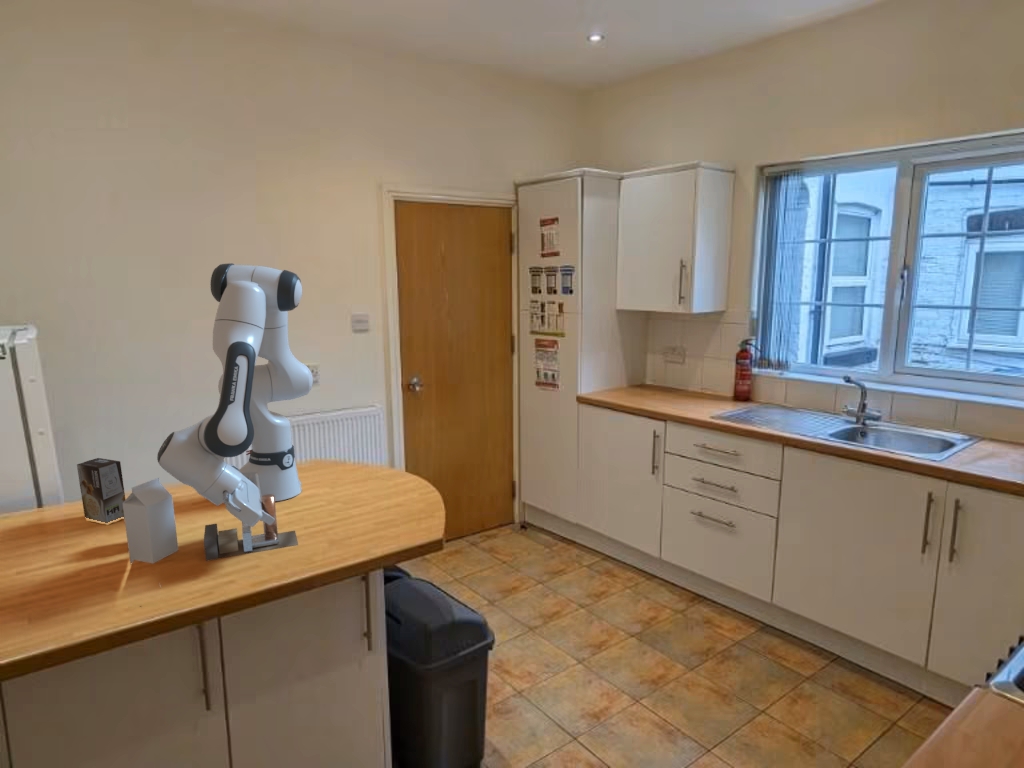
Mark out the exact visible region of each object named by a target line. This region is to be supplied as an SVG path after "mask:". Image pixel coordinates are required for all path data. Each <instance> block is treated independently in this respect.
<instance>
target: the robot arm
mask: <svg viewBox="0 0 1024 768" xmlns="http://www.w3.org/2000/svg"><path fill="white" fill-rule="evenodd" d="M209 282H210V293H211V295H212V297H213V298H214V300H215V301H216V302H218V303H219V304H218V307H217V309H216V310H217V311H216V314H215V319H214V323H213V330H212V350H213V352H214V354H215V356H216V357H218V359H219V361H220V363H221V365H222V366H221V367H222V374H221V375H220V377H219V380H218V385H217V386H218V392H219V401H218V405H217V408H216V411H215V412H214V414H211V415H208V416H206V417H204V418H203V419H201V420H200V421H198V422H197V423H195V424H193V425H191V426H189V427H186V428H184V429H181V430H177V431H173V432H171V433H170V434H169V435H168V436H167V437H166V439H164V441H163V443H162V444H161V446H160V448H159V449H158V452H157V456H156V458H157V459H156V460H157V463H158V465H159V466H160V467H161V468H162V469H163V470H164V471H165V472H166V473H168V474H169V475H171V476H172V477H173V478H174V479H176V480H177V481H179V482H180V483H182V484H183V485H187V486H189V487H191V488H193V489H194V490H195V491H196V493H197V494H199V495H200V496H202V497H203V498H204V499H206V500H208V501H209V502H210V503H212V504H214V505H216V506H220V505H222V504H225V509H226V510H227V511H228V512H229V513H230V514H231V515H232V516H233V517H235V518H236V519H238V520H239V521H240V522H241V523H242V522H243V523H245V524H246V525H248V526H250V527H251V528H253V527H255V526H256V525H257V524H258V523H259V521H261V522H262V523H263V522H265V523H267V524H268V525H271V524H272V523H273V522H274V521H275V519H274V517H273V516H272V515H270V514H267V513H265V512H264V511H263V510H262V502H261V497H262V496H264V495H268V494H272V495H274V496H275V502H279V501H280V502H281V501H284V500H287V499H291V498H294V497H296V496H298V495H299V494H301V492H302V483H301V480H300V478H299V473H298V468H297V464H296V460H295V457H296V456H295V453H296V451H295V447H294V445H293V440H292V439H293V438H292V437H293V436H292V425H291V421H290V420H289V419H288V418H287V416H285V415H283V414H281V413H278V412H274V411H271V410H269V407H268V404H269V403H273V402H281V401H290V400H294V399H297V398H301V397H304V396H307V395H308V394H309V393H310V392H311V390H312V387H313V384H314V378H313V373H312V372H311V369H310V368H309V367H308V366H307V365H306V364H305V363H303V362H301V361H300V360H298V359H297V357H296V356H294V354H293V353H292V350H291V348H290V343H289V341H290V340H289V314H288V313H289V312H290V311H293V310H295V309H296V308H298V306H299V304H300V301H301V299H302V296H303V287H302V281H301V279H300V277H299V276H298V274H297V273H295V272H292V271H289V270H286V269H283V270H281V269H277V268H274V267H269V266H264V265H250V264H234V263H230V262H229V263H221V264H219V265H218V266H217V267H215V268H214V269H213V271H212V274H211V277H210V281H209ZM258 357H259V358H261V359H265V360H267V361H268V362H267V363H265V364H258V365H256V363H257V359H258ZM250 447H251V449H250V450H248V449H249V448H250ZM245 452H246V456H249V458H248V461H247V462H246V463H245V464H244V465H243V466H241V467H240V468H238V467H237V466H235V465H233V464H229V463H228V462H226V461H225V458H234V457H237V456H240V455H242V454H244V453H245Z"/></svg>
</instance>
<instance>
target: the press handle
mask: <svg viewBox="0 0 1024 768" xmlns="http://www.w3.org/2000/svg"><path fill="white" fill-rule="evenodd" d="M261 502H262V510H263V511H264V512H265V513H267V514H270V515H272V516H273V517H274V519H275V521H274V522H273V523H272V524H271V525H268V524H267V523H265V522H263V521H262V523H263V525H262V526H263V533H260V534H254V535H252V527H250V526H248V525H246V524H245V523H243V522H242V521H241V530H242V535H241V536H242V539H243V545H244V552H247V551H252V548H255V547H261V546H267V545H273V544H279V540H278V533H279V531H278V523H277V522H278V521H277V511H276V510H277V509H276V501H275V496H274V495H272V494H268V495H264V496H262V497H261Z"/></svg>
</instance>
